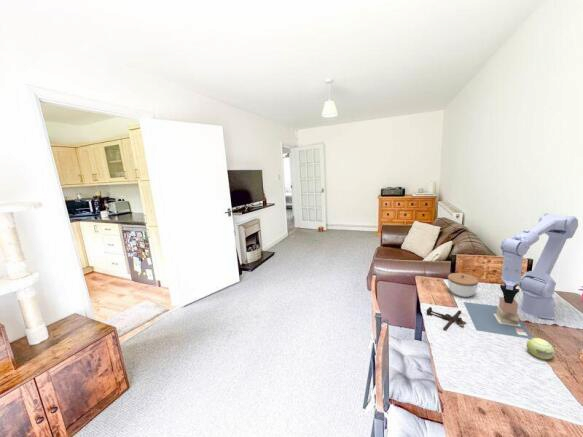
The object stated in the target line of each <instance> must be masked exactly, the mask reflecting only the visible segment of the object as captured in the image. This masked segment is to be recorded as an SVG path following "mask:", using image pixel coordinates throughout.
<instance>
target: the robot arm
mask: <svg viewBox="0 0 583 437" xmlns="http://www.w3.org/2000/svg"><path fill="white" fill-rule="evenodd" d="M578 227H579V220H578V218H577V217H576V216H575V215H572V216H571V215H570V216H568V215H561V214H551V213H543V214H542V215H541V216H539V218H538V222H537V223H536V224H535V225H534V226H532V228H530V229H529V228H527V229H525V228H524V229H523V230H522V231H520V232H519V233H518V234H515V235H514V236H513V237H511V238H509V237H508V238H505V239H503V241H502V242H501V244H500V246H499V247H500V250H501V254H502V257H503V261H502V270H501V276H500V279H501V281H502V282H503V284H504V285H503V284H500V286H499V287H500V290H501V292H502V294H503V297H504V301H505V303H509V304H512V302H513V300H515V297H516V296H517V294H518V293H519V292H520V289H521V292H522V299H521V300H522V301H521V305H518V307H517V308H518V309H519V310H520V311H521V312H522V314H524V316H529V317H536V318H537V319H545V320H546V319H547V320H552V321H553V320H554V321H555V317H554V314H555V308H556V302H555V299H554V297H553V295H554V293H555V291H556V290H555V288H556V284H557V283H556V281H555V280H554V278H552V276H551V273H552V271H553V269H554V267H555V265H556V263H557V260H558V259H559V256H560V255H561V252H562V251H563V248H564V246H565V244H566V242H567V240H568V239H572V238H573V237H574V235H575V233H576V232H577V229H578ZM543 234H545V235H546V236H548V238H547V240H546V243H545V245H544V247H543V249H542V251H541V253H540V256H539V258H538V259H537V262H536V264H535V266H534V268H533V270H528V271H526V272H524V273H523V274H522V270H523V262H524V261H523V260H524V256H525V255H526V254H527V252H528V250H530V248H531V246H532V245H534V244H535V243H537V242H539V241H540V236H542V235H543ZM517 286H518V287H519V288H517Z"/></svg>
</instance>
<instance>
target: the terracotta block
mask: <svg viewBox="0 0 583 437" xmlns="http://www.w3.org/2000/svg"><path fill="white" fill-rule="evenodd" d="M498 306H499V307H500V309H501V310H502V312H505V313H512V314H517V313H518V308H519V307H518V306H519V305H518V303H517V301H516V300H515V299H514V300H513V302H512V304H509V303H505V301H504V296H499V304H498Z"/></svg>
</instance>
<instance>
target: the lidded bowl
mask: <svg viewBox="0 0 583 437" xmlns="http://www.w3.org/2000/svg"><path fill="white" fill-rule="evenodd" d="M447 283H448V288H449V290H450V291H451V292H452V293H453V294H454V295H456V296H458V297H462V298H468V297H472V296H474V295H475V293H476V292H477V290H478V286H479V285H478V284H479V280H478V278H477V277H476V276H473V275H471V274H469V273H463V272H451V273H450V274H448V275H447Z"/></svg>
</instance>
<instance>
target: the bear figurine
mask: <svg viewBox="0 0 583 437" xmlns="http://www.w3.org/2000/svg"><path fill="white" fill-rule="evenodd" d="M461 312H462V311H461V310H458V311H457V312H455V314H454V315H451V314H449V313H446V314H443V313H439V312H436V311H433V308H432V306H429V307H428V308H427V309H426V315H427V316H428V315H429V316H434V317H436V318H439V319H442V320H444V321H447V323H446V324H445V326H444V327H443V328H442V329H443V330H444V331H447V330H448V328H449V327H450V326H451V325H452V324H453V323H456V325H457V326H459V327H461V328H464V327H465V325H464V324H467V322H466V321H465V320H463V319H462V317H460V316H459V315H460V314H461Z"/></svg>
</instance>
